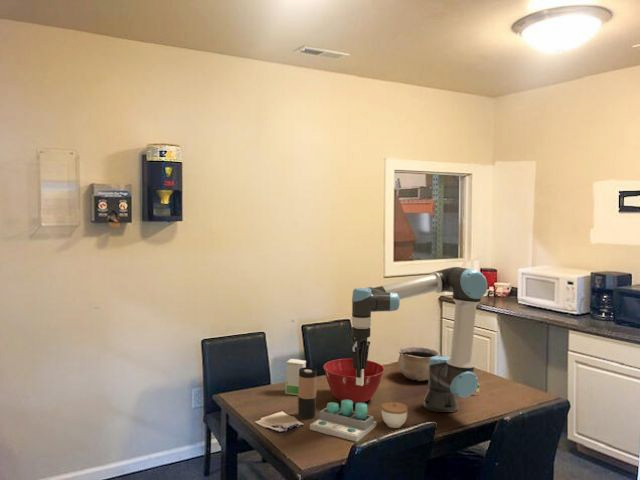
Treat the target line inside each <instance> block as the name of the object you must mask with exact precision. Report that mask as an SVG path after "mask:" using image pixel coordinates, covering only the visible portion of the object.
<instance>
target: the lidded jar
mask: <svg viewBox="0 0 640 480" xmlns="http://www.w3.org/2000/svg"><path fill="white" fill-rule="evenodd" d="M381 417H382V420H383V422H384V423H385V424H386V426H387V427H389V428H392V429H397V428H402V426H403V425H404V424H405V423H406V421H407V419H408V418H407V417H408V406H407V405H406V404H404V403H401V402H394V401H390V402H384V403H382V404H381Z"/></svg>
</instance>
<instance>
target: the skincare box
mask: <svg viewBox="0 0 640 480" xmlns="http://www.w3.org/2000/svg"><path fill="white" fill-rule="evenodd" d="M306 364H307V360H302V359H296V358H290V359H288V360H287V361H286V371H285V386H284V387H285V389H284V391H285V392H284V394H286V395H294V396H298V390H299V369H300V368H304V367H306V366H307V365H306Z"/></svg>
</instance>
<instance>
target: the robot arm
mask: <svg viewBox="0 0 640 480" xmlns="http://www.w3.org/2000/svg"><path fill="white" fill-rule="evenodd" d="M487 290H488V281H487V278H486V276H485V275H484V274H483V273H482V272H481V271H479V270H475V269H472V268H466V267H459V266H453V267H448V268H443V269H440V270H436V271H432V272H431V273H430V274H429V275H424V276H421V277H420V276H419V277H414V278H411V279H407V280H403V281H398V282H393V283H390V284H385V285H380V286H376V287H372V286H367V287H356V288H353V290H352V294H351V295H352V296H351V297H352V299H351V303H352V304H351V309H352V310H351V318H350V319H351V337H353V338H354V341H353V346H350V350H351V359H353V368H354V369H356V385H360V386H363V385H364V369H366V368H367V367H365V366H366V365H367V360H368V358H369V349H370V346H371V341H369V340H368V338H370V337H371V324H372V323H371V322H372V318H371V317H372V312H373V313H375V312H377V313H378V312H395V311H397V310H399V309H400V308H399V307H400V305H401V301H400V300H403V299H404V300H405V299H408V298H409V299H410V298H412V297H416V296H421V295H425V294H430V293H433V292H435V293H437V294H439V293H446V292H448V293H452V300H453V302H454V303H455V306H454V307H455V308H454V318H453V329H452V339H451V349H450V356H441V355H440V356H437V357H432V358H430V360H429V378H428V380H427V381H428V382H427V385H428V387H427V391H426V393H425V397H424V399H423V407H424V408H425V409H426V410H427V411H431V412H433V411H435V412H434V413H437V412H451V411H455V410H456V409H457V408H459V404H458V399H457V397H458V398H463V399H464V398H469V397H472V396H471V395H472V393H474V392H475V391H476V389H477V387H478V384H479V379H478V376H477V375H476V373H474V372H475V364H474V363H473V362H472V354H473V346H474V345H473V344H474V334H475V333H474V332H475V324H476V314H477V306H478V305H479V304H480V303H481V298H483V297H484V296H485V294H486V293H487ZM457 410H458V409H457ZM455 412H456V411H455Z"/></svg>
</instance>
